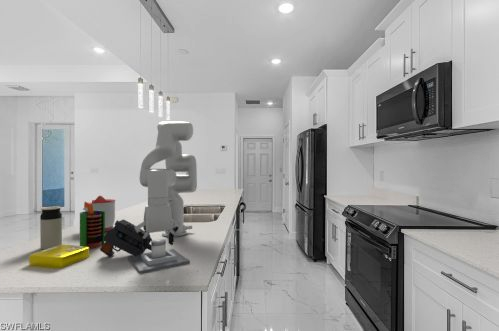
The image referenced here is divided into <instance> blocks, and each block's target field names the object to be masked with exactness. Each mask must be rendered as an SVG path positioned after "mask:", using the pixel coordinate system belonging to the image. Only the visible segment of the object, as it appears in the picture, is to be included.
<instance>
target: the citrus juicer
mask: <svg viewBox="0 0 499 331" xmlns="http://www.w3.org/2000/svg"><path fill="white" fill-rule="evenodd" d="M83 203H88V201H84V202H83ZM91 203H92V205H93V211H95V210H100V211H105V233H107V231H108V230H109V229H110V228H112V227H114V224H115V219H116V199H110V198H109V199H107V198H106V199H105V198H104V197H103V195H98V197H96V198H95V199H92V200H91ZM82 210H83V211H84V212H85V211H88V208H87V207H83V209H82Z"/></svg>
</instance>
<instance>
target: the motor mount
mask: <svg viewBox="0 0 499 331" xmlns="http://www.w3.org/2000/svg"><path fill="white" fill-rule="evenodd" d="M128 261H129V262H130V263H131V265H132V266H133V267H134V268H135V269H136V271H137V272H138V273H139V274H145V273H151V272H156V271H159V270H164V269H169V268H175V267H178V266H182V265H184V266H185V265H188V264H191V263H190V262H191V261H190V259H188V258H187V257H186V256H185V255H183V254H181V253H180V252H178V251H176V249H166V257H162V258H157V259H152V260H151V251H150V252H144V253H143V254H141V255H137V256H133V255H131V256H128Z"/></svg>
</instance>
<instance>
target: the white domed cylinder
mask: <svg viewBox="0 0 499 331" xmlns="http://www.w3.org/2000/svg"><path fill="white" fill-rule="evenodd" d="M166 242H167V240H166V239H165V238H155V239H152V241H151V242H150V245H151V250H150V252H151V260H152V259H157V258H162V257H166V246H167V245H166V244H167V243H166Z"/></svg>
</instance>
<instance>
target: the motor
mask: <svg viewBox="0 0 499 331" xmlns="http://www.w3.org/2000/svg"><path fill="white" fill-rule="evenodd" d="M87 202H88V201H87ZM83 203H84V202H83ZM83 206H84V207H87V208H88V211H85V210H84V211H81V212H80V213H79V246H87V247H89V250H91V249H93V250H94V249H98V248H101V247H102V246H103V244H104V243H105V241H104V236H105V235H106V232H105V211H100V210H95V211H93V205H92V201H91V202H90V201H89V202H88V203H84V204H83ZM84 207H83V208H84Z"/></svg>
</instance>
